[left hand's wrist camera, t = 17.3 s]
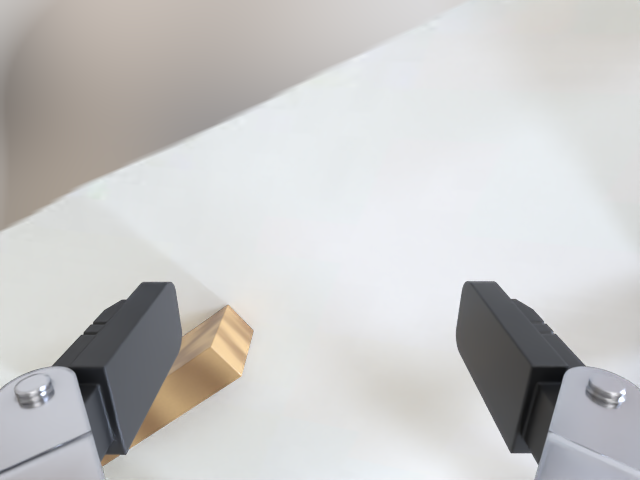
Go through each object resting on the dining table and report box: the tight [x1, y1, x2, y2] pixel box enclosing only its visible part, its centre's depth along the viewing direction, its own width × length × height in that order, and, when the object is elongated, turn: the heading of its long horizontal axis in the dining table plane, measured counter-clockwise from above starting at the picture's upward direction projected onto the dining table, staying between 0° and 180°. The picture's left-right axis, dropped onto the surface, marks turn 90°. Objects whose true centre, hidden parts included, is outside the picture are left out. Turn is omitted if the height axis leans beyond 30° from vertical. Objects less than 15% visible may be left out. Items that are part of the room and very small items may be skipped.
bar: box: [101, 305, 253, 466], centre depth 46 cm, size 25×4×8 cm, turn 127°
